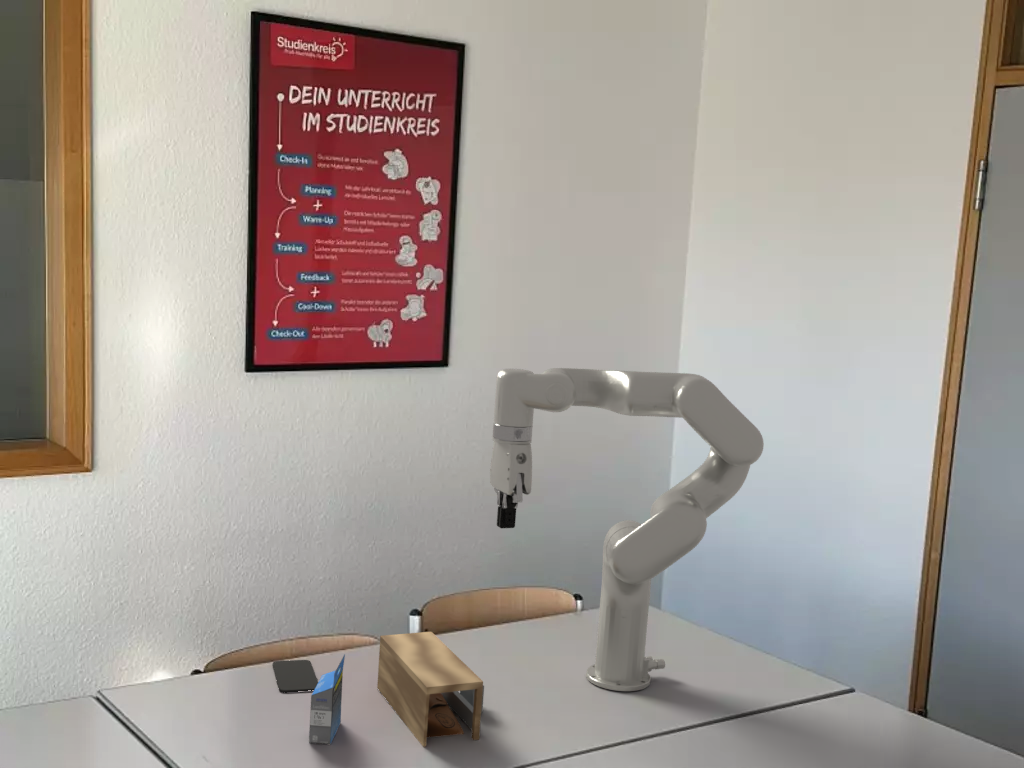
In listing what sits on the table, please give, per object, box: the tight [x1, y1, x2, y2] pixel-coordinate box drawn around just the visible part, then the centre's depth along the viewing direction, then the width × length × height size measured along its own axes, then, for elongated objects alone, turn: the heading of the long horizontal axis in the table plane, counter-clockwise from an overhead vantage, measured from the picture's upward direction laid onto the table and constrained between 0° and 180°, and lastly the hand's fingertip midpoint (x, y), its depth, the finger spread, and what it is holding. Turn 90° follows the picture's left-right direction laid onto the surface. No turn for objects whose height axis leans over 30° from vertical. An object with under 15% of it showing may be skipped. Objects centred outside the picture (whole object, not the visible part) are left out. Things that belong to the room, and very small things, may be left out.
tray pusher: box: [441, 684, 485, 731], centre depth 200 cm, size 4×20×5 cm, turn 24°
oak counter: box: [376, 631, 484, 748], centre depth 196 cm, size 10×25×10 cm, turn 24°
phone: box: [272, 659, 319, 694], centre depth 209 cm, size 7×1×15 cm
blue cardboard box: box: [308, 653, 346, 745], centre depth 185 cm, size 9×4×12 cm, turn 178°
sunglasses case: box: [427, 693, 465, 738], centre depth 196 cm, size 18×7×7 cm, turn 19°
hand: (505, 526), depth 215 cm, fingers closed
